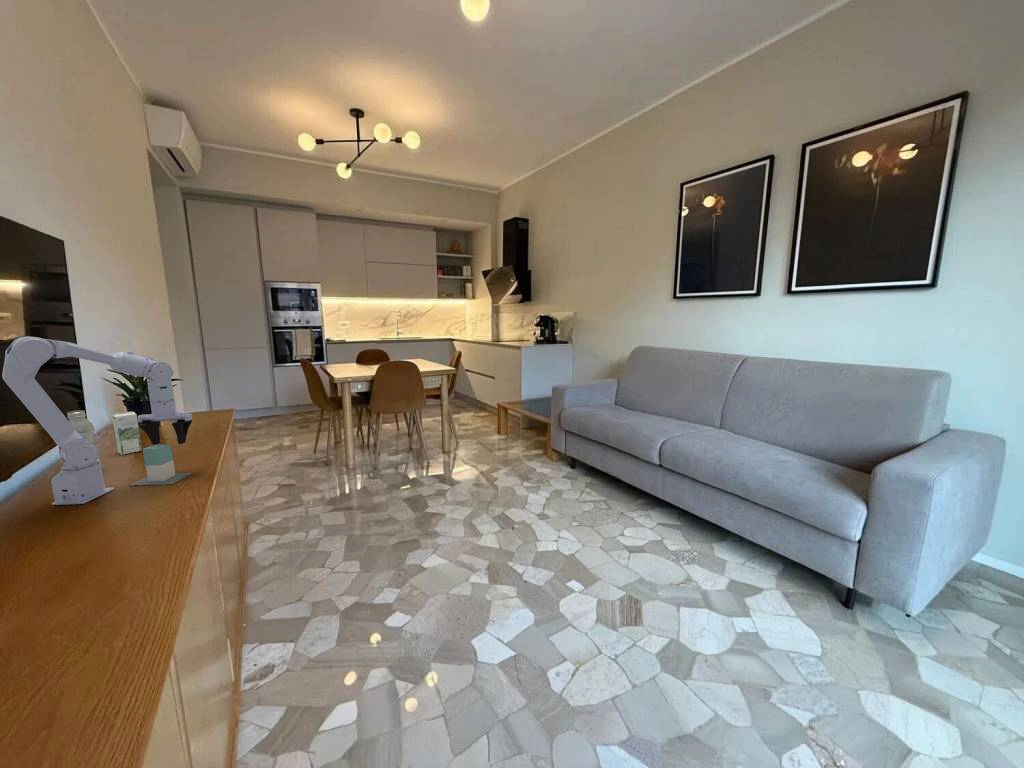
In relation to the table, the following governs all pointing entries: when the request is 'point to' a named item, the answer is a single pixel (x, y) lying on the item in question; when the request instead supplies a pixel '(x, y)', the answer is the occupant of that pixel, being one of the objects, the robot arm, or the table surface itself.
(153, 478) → the cream block
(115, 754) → the table surface
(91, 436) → the plastic bottle
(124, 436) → the syrup box
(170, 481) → the slate mat
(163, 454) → the teal block
